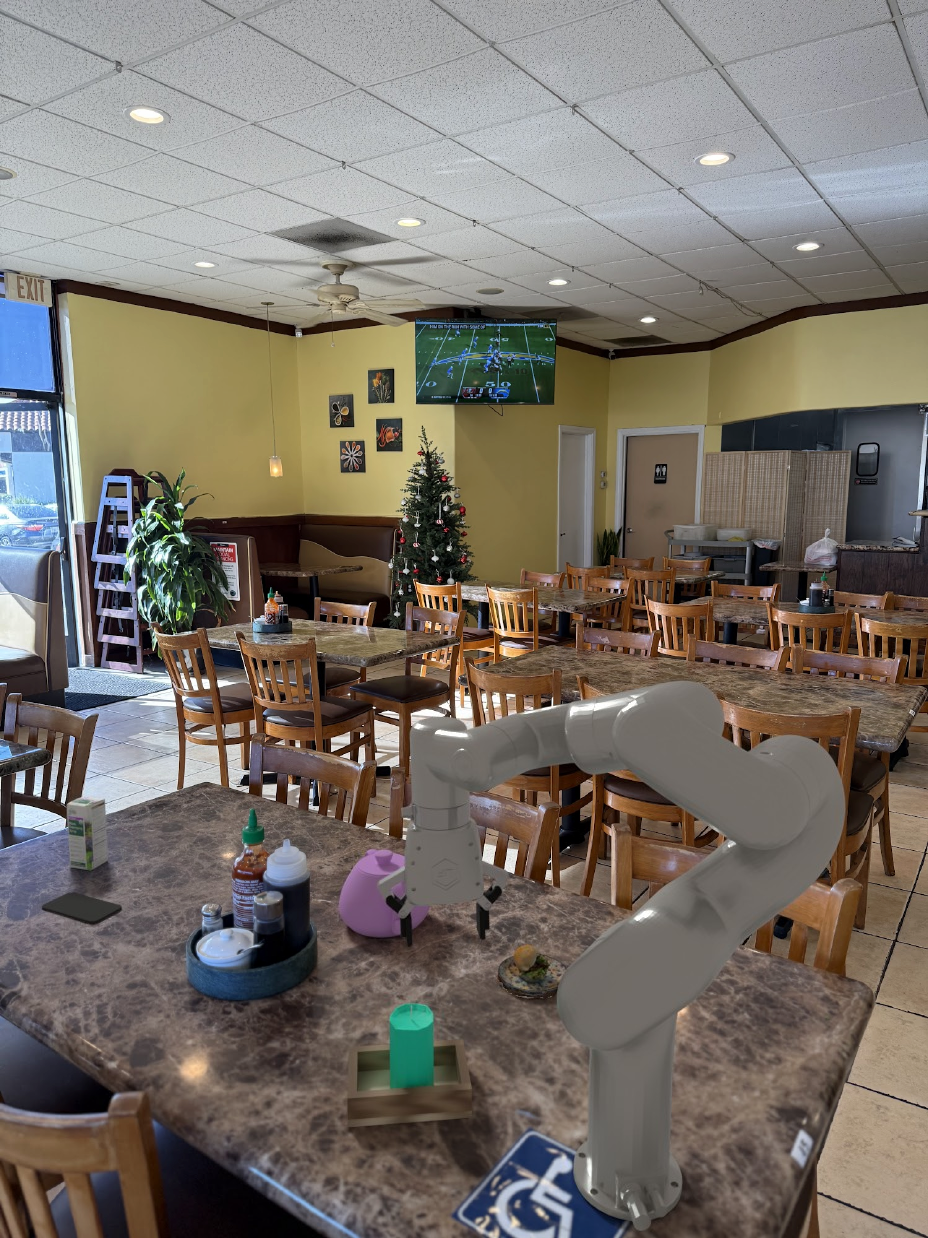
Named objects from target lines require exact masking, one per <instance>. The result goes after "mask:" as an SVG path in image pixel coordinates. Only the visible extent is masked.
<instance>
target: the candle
mask: <svg viewBox="0 0 928 1238" xmlns="http://www.w3.org/2000/svg"><path fill="white" fill-rule="evenodd" d="M433 1041H434V1012H433V1011H432V1010H431V1008H430V1007H429V1006H428V1005H426V1004H421V1003H404V1004H401V1005H399V1006H396V1007H395V1008H394V1010H393V1011H392V1012H391V1014H390V1015H389V1044H390V1089H396V1088H409V1087H423V1086H434V1059H433Z"/></svg>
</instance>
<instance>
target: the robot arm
mask: <svg viewBox="0 0 928 1238" xmlns="http://www.w3.org/2000/svg"><path fill="white" fill-rule="evenodd" d="M724 712H725V711H724V708H723V706H722V704H721V701H720V699H719V698H718V697H717V695H716V694H715V693H714V692H713V691H712V690H711V689H709V687H707V686H706V685H704V684H701V683H699V682H696V681H691V680H674V681H673V680H672V681H668V682H662V683H658V684H653V685H649V686H648V685H647V686H645V687H639V688H635V689H634V688H633V689H629V690H625V691H620V692H615V693H612V694H606V695H602V696H597V697H592V698H586V699H581V700H575V701H572V702H568V703H563V704H557V705H552V706H545V707H542V708H541V707H540V708H536V709H532V710H528V711H523V712H519V713H513V714H510V715H506V716H504V717H500V718H497V719H494V720H492V721H490V722H487V723H485V724H481V725H479V726H475V727H472V728H468V727H467V726H466V724H465V723H464V722H463V721H462V720H460V719H458V718H455V717H449V716H434V717H433V716H432V717H425V718H423V719H420V720H418V721H415V722H414V723H413V725H412V726H411V728H410V729H409V730H410V731H409V753H410V755H409V757H410V777H411V778H410V784H411V803H409V805H407V806H406V807H405V806H404V807H401V808H400V809H401V810H400V811H401V812H400V813H401V819H404V818H405V819H410V822H409V823H408V824H407V829H406V836H405V844H404V845H405V846H404V856H405V860H404V866H403V867H402V868H400V869H398V870H397V871H395V872H393V873H392V874H390V875H388V876H387V877H385V878H383V879H381V880H380V881H378V883H377V888H378V891H379V892H380V894H381V895H382V897H383V899H384V900H385V902H386V904H387V905H388V906H389V907H390V908H391V909H392V910H394V911H395V912H396V913H397V914H398V915H399V917H400V933H401V935H400V938H401V939H405V941H406V947H407V948H411V947H412V946H413V944H414V943H413V930H412V918H411V912H410V911H411V910H412V909H413V907H414V906H415V905H416V906H429V907H430V906H438V905H440V906H441V905H450V904H462V903H469V902H474V901H475V902H476V903H475V914H476V916H475V917H476V919H475V920H476V932H477V933H478V937H479V939H480V940H481V941H483V940H487V939H486V937H487V936H486V931H488V930H489V931H490V929H491V928H490V927H491V926H490V910H491V909H492V907H493V905H494V904H495V902H496V901H497V900H498V899H499V898H500V897H501V896H502V894H503V890H504V889H505V887H506V886H507V884H508V881H509V879H510V875H509V873H508V871H507V870H506V869H505V868H501V867H499V866H497V865H494V864H492V863H489V862H486V861H485V860H483V854H482V853H483V852H482V846H481V839H480V838H481V837H480V833H479V828H478V825H477V822H476V820H475V819H473V818H472V817H471V798H470V797H471V795H470V792H473V793H482V792H486V791H489V790H492V789H494V788H495V787H497V786H500V785H501V784H503V783H506V782H507V781H510V780H512V779H514V778H515V777H518V776H519V775H521V774H523V773H526V772H528V771H532V770H534V769H535V770H536V769H540V768H547V767H551V766H557V765H558V766H560V765H565V764H575V765H576V766H577V767H578V768H579V769H580V770H581V771H582V772H584V773H586V774H589V775H602V774H606V773H607V774H608V773H609V774H610V773H614V772H620V771H625V770H628V771H629V772H631V773H632V774H633V775H634V776H635V777H636V778H638V779H639V780H640V781H641V782H643V783H644V784H645V785H647V786H649V787H650V789H652V790H654V791H655V792H657V793H658V794H660V795H662V796H663V797H664V798H665V799H667V800H669V801H670V802H671V803H673V804H674V805H676V806H677V807H679V808H681V809H682V810H684V811H685V812H686V813H688V814H690V815H691V816H693V817H694V818H696V819H697V820H698V821H700V822H702V823H703V824H704V825H706V826H707V827H709V828H711V829H712V830H714V831H715V832H717V833H718V834H720V835H721V836H722V837H724V838H726V840H724V841H723V842H722V843H721V844H720V845H719V846H718V847H717V848H716V849H715V850H714V851H712V852H710V854H708V855H707V856H706V857H704V858H703V859H702V860H701V861H700V862H698V863H697V864H695V865H694V866H693V867H691V868H690V869H689V870H687V871H686V872H684V873H683V874H682V875H680V876H678V877H677V878H674V880H672V881H670V882H668V883H667V884H665V885H664V886H662V888H660V889H659V890H658V891H657V892H656V893H654V895H652V897H650V898H649V899H648V900H647V901H646V902H645V903H644V904H643V905H642V906H640V907H639V909H638V910H636V911H635V912H634V913H633V914H632V915H631V916H630V917H627V918H624V919H622V920H619V921H618V922H616V923H614V924H613V925H611V926H610V927H609V928H607V929H606V930H605V931H604V932H603V933H602V934H601V935H599V937H597V938H596V939H595V940H594V941H593V942H592V943H591V945H589V947H587V948H586V949H585V950H584V952H582V953H581V954H580V955H579V956H578V957H577V958H576V959H575V960H574V961H572V963H571V964H570V965H569V966H568V967H566V971H565V972H564V974H563V976H562V978H561V980H560V982H559V986H558V989H557V990H556V991H557V992H556V1007H557V1011H558V1016H559V1019H560V1020H561V1023H562V1026H563V1027H564V1029H565V1030H566V1032H567V1033H568V1034H569V1035H570V1036H571V1037H572V1038H573V1039H574V1040H575V1041H577V1042H578V1043H579V1044H581V1045H583V1046H585V1047H587V1048H589V1057H588V1058H589V1063H588V1064H589V1065H588V1067H589V1068H588V1098H587V1099H588V1102H587V1103H588V1104H587V1106H588V1108H587V1140H585V1141H583V1143H582V1144H581V1145H580V1146H579V1147H578V1149H577V1150H576V1152H575V1154H574V1159H573V1178H574V1183H575V1185H576V1186H577V1189H578V1191H579V1192H580V1194H581V1195H582V1196H583V1198H584V1199H585V1200H586V1201H587V1202H589V1204H590V1205H591V1206H593V1207H595V1208H596V1209H597V1210H599V1211H601V1212H603V1213H604V1214H606V1215H608V1216H610V1217H614V1218H617V1219H620V1220H625V1221H629V1222H630V1221H631V1222H632V1224H633V1226H634V1228H635V1230H637V1231H640V1232H641V1231H644V1232H645V1230H647V1229H649V1228H650V1226H651V1224H652V1220H654V1219H659V1218H664V1217H666V1216H667V1214H668V1213H670V1212H671V1211H672V1210H673V1209H674V1208H675V1207H676V1206H677V1204H678V1202H679V1201H680V1199H681V1195H682V1191H683V1175H682V1174H683V1173H682V1171H681V1168H680V1166H679V1164H678V1162H677V1160H676V1159H675V1157H674V1156H673V1154H671V1128H672V1124H671V1123H672V1103H673V1100H672V1099H673V1082H674V1081H673V1079H674V1078H673V1077H674V1076H673V1075H674V1065H675V1064H674V1063H675V1062H674V1061H675V1043H676V1042H675V1040H676V1029H677V1021H678V1014H679V1013H680V1012H681V1011H682V1010H684V1009H685V1008H686V1007H688V1006H689V1005H691V1004H692V1003H693V1002H694V1001H695V1000H696V999H697V998H699V997H700V996H701V995H702V994H703V993H704V992H705V991H706V990H707V989H708V988H709V986H710V985H711V984H712V983H713V982H714V980H715V979H716V977H717V976H718V975H719V974H720V973H721V971H722V969H723V968H724V967H725V966H726V964H727V963H728V961H729V960H730V959H731V957H733V954H734V953H735V951H736V950H737V949H738V947H739V946H740V945H741V944H742V943H744V941H745V940H746V939H747V938H749V937H750V936H751V935H752V934H754V933H755V932H756V931H758V930H759V929H760V928H762V927H763V926H764V925H765V924H767V923H768V922H770V921H771V920H772V919H773V918H774V917H776V916H777V915H779V913H780V912H783V910H784V909H786V908H788V906H791V904H792V903H794V902H795V901H796V900H797V899H799V898H800V897H801V896H802V895H803V894H804V893H805V892H806V891H807V890H809V888H810V887H812V885H813V884H814V883H815V882H816V881H817V879H818V878H819V877H820V876H821V875H822V873H823V872H824V870H825V869H826V868H827V866H829V864H830V861H831V860H832V858H833V856H834V855H835V852H836V850H837V848H838V845H839V842H840V840H841V836H842V833H843V829H844V824H845V817H846V795H845V791H844V790H845V789H844V785H843V780H842V776H841V775H840V772H839V770H838V767H837V766H836V763H835V761H834V759H833V757H832V756H831V755H830V754H829V752H828V751H827V750H826V749H825V747H823V746H822V745H820V744H819V743H818V742H817V741H814V740H813V739H811V738H808V737H806V736H802V735H796V734H786V735H785V734H783V735H778V736H774V737H770V738H768V739H766V740H763V741H762V742H759V743H758V744H757V745H755V746H754V747H752V749H750V750H748V751H747V750H745V749H744V748H742V747H740V746H739V745H737V744H736V743H733V742H732V741H730V740H729V739H727V738H725V737H724V736H723V732H724V730H725V729H724V728H725V713H724ZM484 875H486V876H488V877H490V878H493V879H494V882H493V883H492V884H491V885H490V886H489V887H488V889H487V890H485V880H484ZM402 881H405V890H406V892H405V894H404V895H403V896H402V897H401V899H399V898H398V897H397V896H396V895H395V894H393V893H392V891H391V888H392V887H394V886H395V885H397V884H399V883H401V882H402Z"/></svg>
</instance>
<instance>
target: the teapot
mask: <svg viewBox="0 0 928 1238" xmlns="http://www.w3.org/2000/svg"><path fill="white" fill-rule="evenodd" d="M404 860H405V855H402V854H399V853H394V852H393V851H391V850H389V849H381V850H380V849H379V850H377V849H374V848H371V849H368V850H366V852H365V856H363V857H362V858H360V859H359V860H358V861H357V863H356V864H355V865H354V867H352V870H351V871H350V873H349V875H348V876H347V878H346V880H345V882H344V883H343V885H342V889H341V891H340V894H339V901H338V913H339V916H340V918H341V919H342V921H343V922H344V923H345V925H347V926H348V927H349V928H350V929H351V930H352V931H353V932H355V933H356V934H359V935H362V936H366V937H370V938H391V937H392V938H393V937H396V936H397V937H398V936H401V933H400V917H399V915H398V914H397V913H396V912H395V911H394V910H392V909H391V908H390V907H389V906H388V905H387V904H386V902H385V900H384V899H383V897H382V895H381V894H380V892H379V891H378V888H377V883H378V881H380V880H381V879H383V878H385V877H387V876H388V875H390V874H392V873H393V872H395V871H397V870H398V869H400V868H402V867H403V866H404ZM391 891H392V893H393V894H395V895H396V896H397V897H398V898H399V899H401V897H402V896H403V895H404V894H405V892H406V890H405V881H402V882H401V883H399V884H397V885H395V886H394V887H392V888H391ZM429 911H430V905H429V906H416V905H415V906H414V907H413V909H412V910H411V911H410V912H411V918H412V931H413V930H415V929H416V928H417V927H418V926H419V925H420V924H421V923H422V922H423V921H424V919H425V918H426V917H427V915H428V913H429Z"/></svg>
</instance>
